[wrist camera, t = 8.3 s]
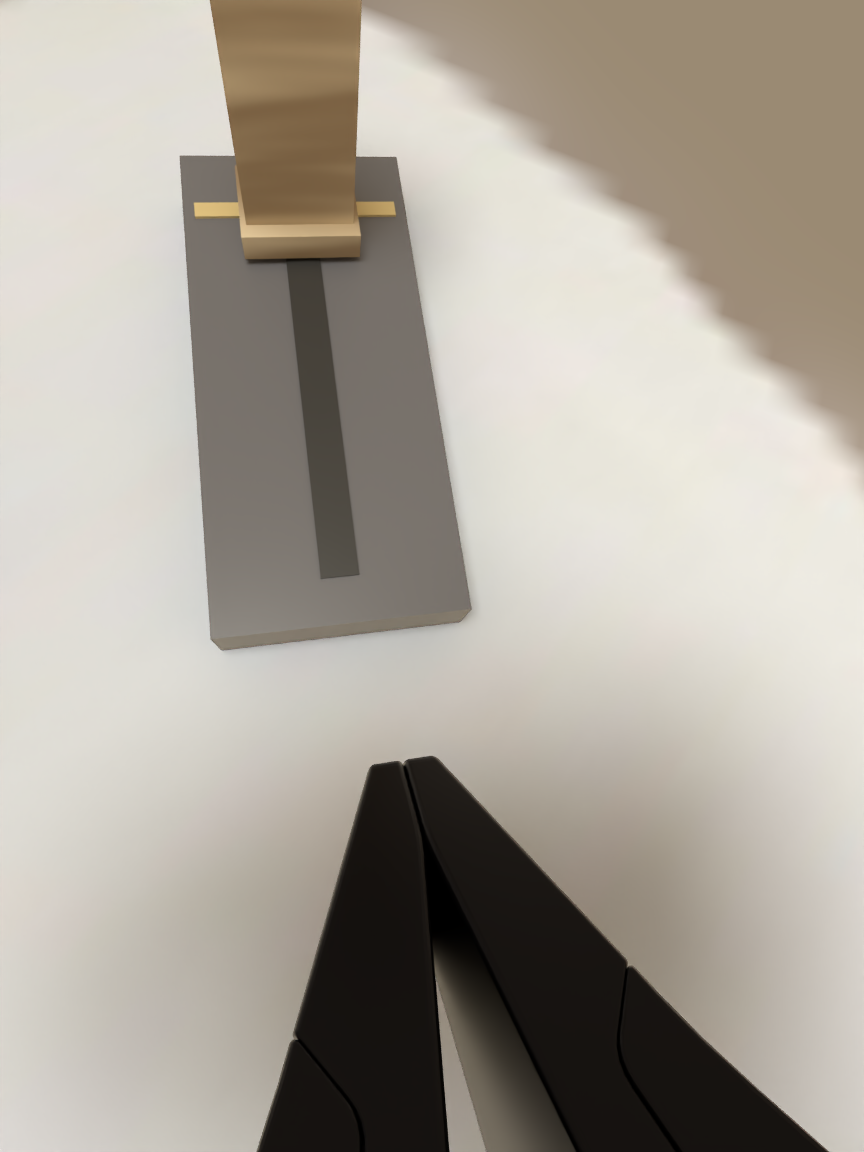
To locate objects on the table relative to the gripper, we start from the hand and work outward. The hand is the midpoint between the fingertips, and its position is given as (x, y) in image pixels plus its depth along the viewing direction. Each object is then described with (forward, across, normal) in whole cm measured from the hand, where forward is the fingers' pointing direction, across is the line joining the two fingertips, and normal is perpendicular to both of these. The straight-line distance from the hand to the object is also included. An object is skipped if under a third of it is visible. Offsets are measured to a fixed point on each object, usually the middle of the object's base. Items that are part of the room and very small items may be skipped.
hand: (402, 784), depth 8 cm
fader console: (+19, 0, 0) cm, 19 cm away
